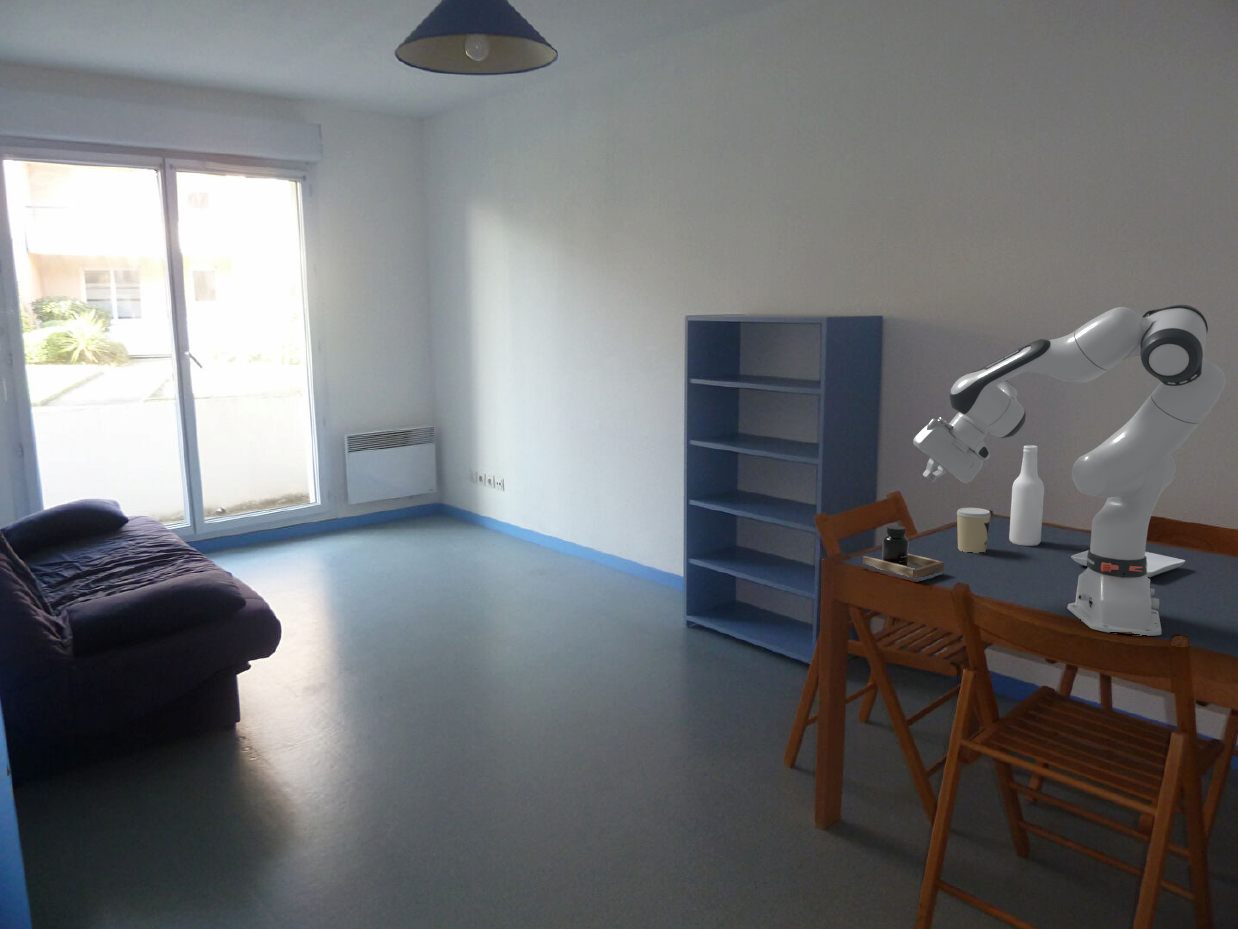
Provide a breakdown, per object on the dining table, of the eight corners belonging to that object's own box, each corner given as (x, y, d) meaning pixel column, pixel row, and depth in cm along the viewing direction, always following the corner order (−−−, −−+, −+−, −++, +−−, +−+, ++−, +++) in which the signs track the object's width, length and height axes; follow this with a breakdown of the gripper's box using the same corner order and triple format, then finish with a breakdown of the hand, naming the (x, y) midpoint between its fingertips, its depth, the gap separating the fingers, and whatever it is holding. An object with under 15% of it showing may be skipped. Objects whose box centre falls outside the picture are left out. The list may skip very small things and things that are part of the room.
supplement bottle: (907, 574, 236) (909, 531, 234) (881, 572, 238) (882, 529, 236) (907, 567, 242) (909, 525, 240) (882, 565, 245) (883, 523, 243)
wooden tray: (943, 574, 235) (944, 562, 235) (916, 583, 228) (916, 570, 227) (889, 561, 249) (890, 549, 248) (862, 569, 241) (862, 556, 241)
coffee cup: (992, 554, 254) (994, 514, 252) (958, 553, 256) (960, 513, 254) (984, 546, 263) (986, 507, 261) (951, 545, 265) (953, 507, 263)
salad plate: (1106, 554, 254) (1107, 543, 253) (1186, 571, 237) (1187, 559, 236) (1068, 567, 242) (1068, 555, 241) (1149, 585, 225) (1150, 572, 224)
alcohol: (1003, 539, 271) (1009, 444, 266) (1031, 538, 271) (1037, 443, 266) (1017, 546, 262) (1024, 448, 257) (1046, 546, 263) (1053, 447, 258)
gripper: (944, 418, 211) (907, 463, 213) (994, 459, 219) (959, 502, 221) (929, 409, 216) (894, 454, 219) (979, 450, 225) (944, 492, 227)
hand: (927, 478), depth 220 cm, fingers closed
